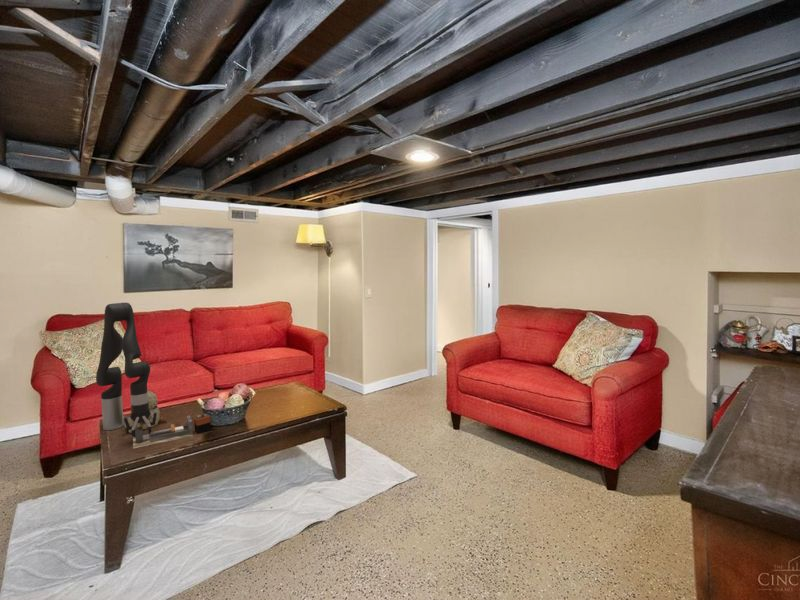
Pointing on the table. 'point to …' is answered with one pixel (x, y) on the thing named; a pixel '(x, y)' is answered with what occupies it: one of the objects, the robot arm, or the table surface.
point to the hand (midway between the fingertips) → (141, 435)
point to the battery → (202, 423)
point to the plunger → (141, 436)
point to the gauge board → (167, 436)
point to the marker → (179, 429)
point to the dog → (152, 409)
